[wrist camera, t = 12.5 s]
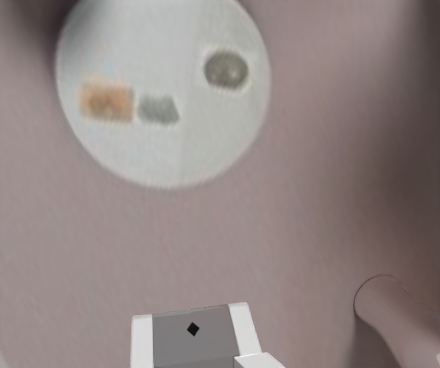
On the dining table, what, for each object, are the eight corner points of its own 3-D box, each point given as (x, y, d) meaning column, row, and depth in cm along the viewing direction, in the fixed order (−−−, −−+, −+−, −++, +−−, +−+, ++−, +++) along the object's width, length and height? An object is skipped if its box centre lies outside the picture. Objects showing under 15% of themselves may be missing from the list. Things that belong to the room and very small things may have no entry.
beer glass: (357, 335, 47) (451, 449, 33) (343, 285, 45) (438, 385, 31) (411, 311, 48) (526, 413, 34) (400, 261, 46) (518, 348, 32)
